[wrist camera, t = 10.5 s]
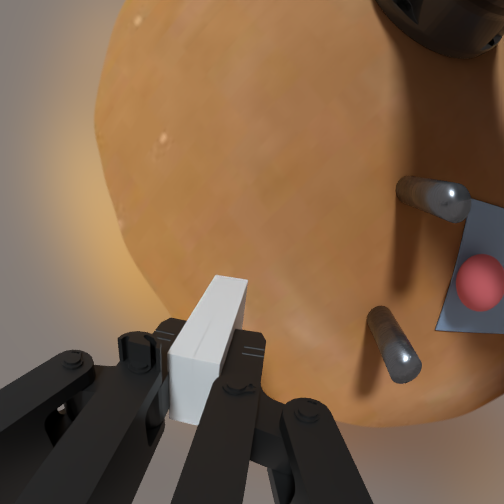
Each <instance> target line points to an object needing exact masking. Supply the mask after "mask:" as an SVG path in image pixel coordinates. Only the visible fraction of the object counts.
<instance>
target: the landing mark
mask: <svg viewBox="0 0 504 504" xmlns="http://www.w3.org/2000/svg"><path fill="white" fill-rule="evenodd" d="M477 254H487V255H490V256H492V257H494V258H495V259H497V260H498V261H499V262H500V264H501V265H502V267H503V269H504V208H501V207H498V206H495V205H491V204H488V203H485V202H482V201H478V200H475V199H471V209H470V212H469V214H468V216H467V218H466V223H465V227H464V232H463V237H462V241H461V245H460V249H459V253H458V257H457V261H456V265H455V268H454V272H453V276H452V279H451V282H450V286H449V289H448V292H447V296H446V299H445V302H444V305H443V308H442V311H441V314H440V317H439V319H438V322H437V325H436V328H435V330H443V331H458V332H474V333H495V334H504V295H503V297H502V299H501V300H500V302H499V303H498V304H497V305H496V306H495V307H493V308H491V309H490V310H487V311H482V312H479V311H473V310H471V309H469V308H467V307H466V306H465V305H464V304H463V303H462V302H461V300H460V299H459V296H458V294H457V290H456V277H457V274H458V271H459V269H460V267H461V265H462V264H463V263H464V262H465V261H466V260H467V259H468V258H470V257H472V256H474V255H477Z"/></svg>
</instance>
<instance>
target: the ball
mask: <svg viewBox="0 0 504 504" xmlns="http://www.w3.org/2000/svg"><path fill="white" fill-rule="evenodd" d="M456 290H457V294H458V296H459V299H460V300H461V302H462V303H463V304H464V305H465V306H466V307H467V308H469V309H471V310H473V311H479V312H482V311H487V310H490V309H491V308H493V307H495V306H496V305H497V304H498V303H499V302H500V300H501V299H502V297H503V295H504V269H503V267H502V265H501V264H500V262H499V261H498V260H497V259H495V258H494V257H492V256H490V255H487V254H477V255H474V256H472V257H470V258H468V259H467V260H466V261H465V262H464V263H463V264H462V265H461V267H460V269H459V271H458V274H457V277H456Z"/></svg>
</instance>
